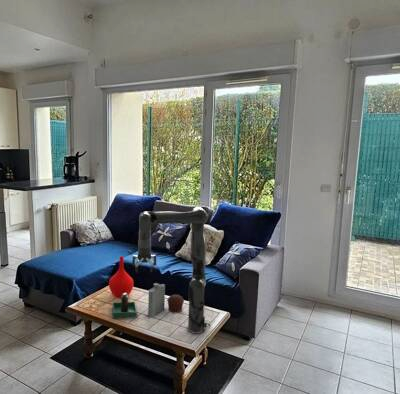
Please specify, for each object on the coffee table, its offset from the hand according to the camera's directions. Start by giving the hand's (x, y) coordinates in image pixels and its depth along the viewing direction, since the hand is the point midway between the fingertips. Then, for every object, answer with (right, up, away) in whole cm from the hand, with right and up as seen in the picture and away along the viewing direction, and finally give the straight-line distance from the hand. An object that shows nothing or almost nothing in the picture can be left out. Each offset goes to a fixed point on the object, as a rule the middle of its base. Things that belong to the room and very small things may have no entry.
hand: (144, 272), depth 204 cm
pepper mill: (-14, -32, +25) cm, 43 cm away
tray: (-14, -33, +25) cm, 43 cm away
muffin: (+21, -33, +31) cm, 50 cm away
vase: (-18, -29, +52) cm, 62 cm away
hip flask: (+7, -33, +26) cm, 43 cm away
